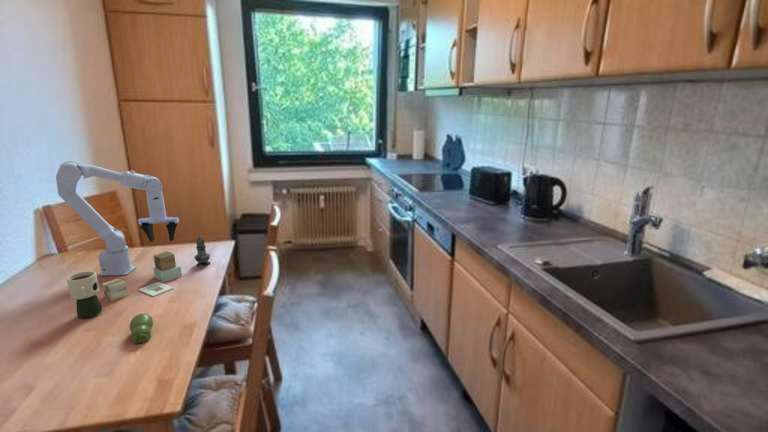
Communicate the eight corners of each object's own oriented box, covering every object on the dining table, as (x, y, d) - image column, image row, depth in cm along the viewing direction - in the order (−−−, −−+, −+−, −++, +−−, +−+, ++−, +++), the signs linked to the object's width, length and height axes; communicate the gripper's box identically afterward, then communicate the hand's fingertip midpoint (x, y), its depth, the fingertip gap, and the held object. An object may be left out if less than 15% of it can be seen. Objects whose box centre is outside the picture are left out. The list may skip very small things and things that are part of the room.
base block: (154, 277, 148) (153, 267, 147) (174, 271, 153) (172, 262, 152) (162, 282, 144) (160, 272, 143) (182, 276, 149) (180, 266, 148)
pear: (152, 308, 114) (150, 330, 106) (155, 322, 117) (153, 345, 109) (129, 312, 112) (126, 335, 104) (132, 327, 114) (129, 350, 106)
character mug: (104, 318, 119) (95, 279, 116) (74, 325, 116) (64, 285, 112) (104, 304, 128) (96, 266, 125) (77, 310, 124) (67, 272, 121)
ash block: (104, 297, 133) (101, 283, 131) (120, 291, 137) (118, 278, 135) (112, 301, 130) (109, 287, 129) (128, 295, 134) (125, 281, 133)
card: (138, 290, 137) (138, 289, 137) (158, 282, 143) (158, 281, 143) (153, 296, 133) (153, 295, 133) (173, 288, 139) (173, 287, 138)
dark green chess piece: (205, 267, 156) (201, 238, 153) (192, 266, 157) (187, 237, 154) (214, 262, 162) (210, 234, 158) (201, 260, 163) (197, 233, 160)
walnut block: (155, 267, 147) (153, 255, 146) (169, 263, 151) (167, 251, 149) (162, 270, 144) (160, 258, 143) (176, 266, 148) (174, 253, 147)
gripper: (131, 210, 151) (138, 244, 154) (171, 209, 152) (176, 243, 156) (141, 206, 157) (146, 238, 161) (179, 205, 159) (183, 237, 162)
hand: (162, 240), depth 159 cm, fingers open, 7 cm apart
